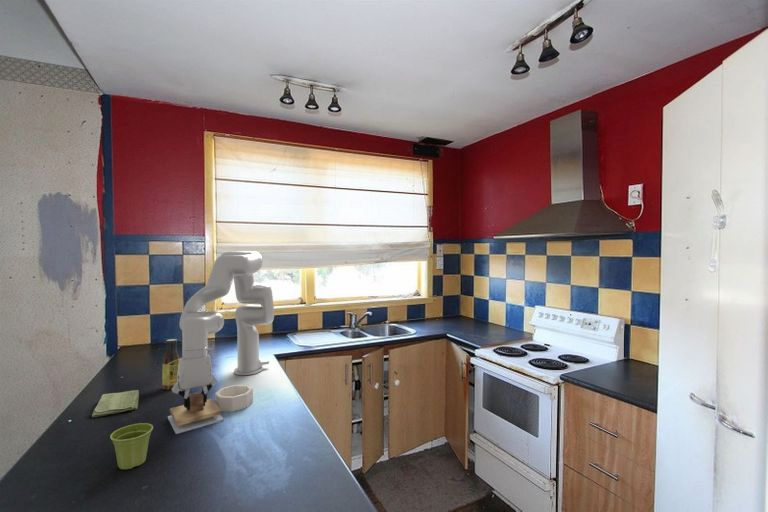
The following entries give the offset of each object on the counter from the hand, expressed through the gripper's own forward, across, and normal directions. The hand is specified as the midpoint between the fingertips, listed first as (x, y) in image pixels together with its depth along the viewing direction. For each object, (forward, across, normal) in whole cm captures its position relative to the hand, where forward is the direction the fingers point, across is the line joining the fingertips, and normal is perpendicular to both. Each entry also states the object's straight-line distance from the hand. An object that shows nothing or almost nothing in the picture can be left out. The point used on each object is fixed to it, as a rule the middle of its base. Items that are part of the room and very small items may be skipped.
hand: (195, 406), depth 122 cm
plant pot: (+5, +19, +17) cm, 26 cm away
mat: (+4, 0, 0) cm, 4 cm away
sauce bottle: (+5, +1, -38) cm, 38 cm away
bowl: (+4, -14, -4) cm, 15 cm away
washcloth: (+5, +19, -30) cm, 36 cm away
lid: (+2, 0, 0) cm, 2 cm away
